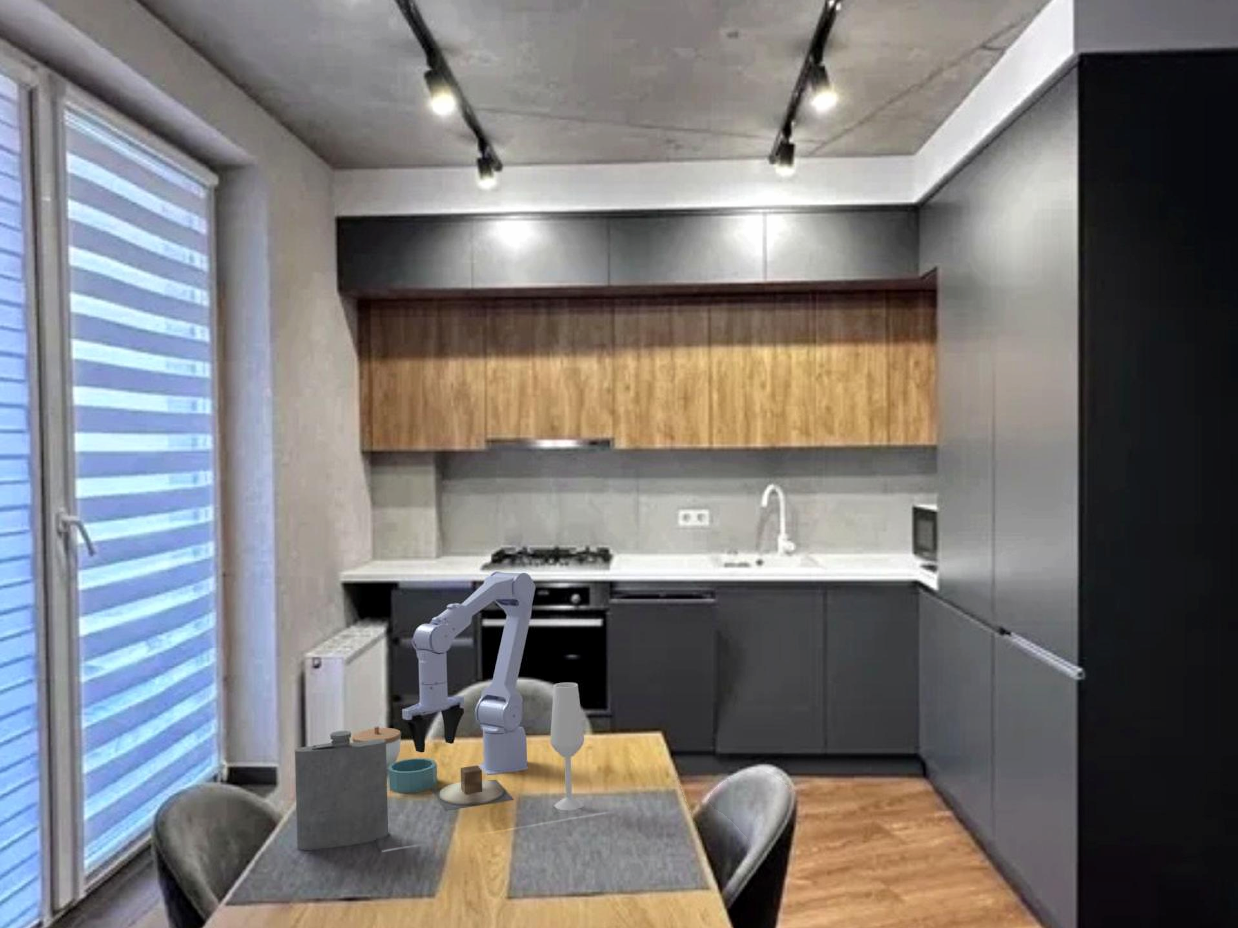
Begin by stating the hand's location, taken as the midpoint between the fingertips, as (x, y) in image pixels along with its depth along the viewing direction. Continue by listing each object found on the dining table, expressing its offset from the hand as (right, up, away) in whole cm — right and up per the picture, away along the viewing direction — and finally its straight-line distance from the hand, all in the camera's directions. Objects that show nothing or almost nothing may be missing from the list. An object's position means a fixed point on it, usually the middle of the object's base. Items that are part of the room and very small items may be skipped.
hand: (435, 746), depth 198 cm
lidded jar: (-17, -11, +19) cm, 27 cm away
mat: (+8, -9, -3) cm, 13 cm away
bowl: (-6, -10, +5) cm, 12 cm away
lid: (+8, -9, -3) cm, 12 cm away
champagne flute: (+29, -9, -11) cm, 32 cm away
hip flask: (-12, -10, -26) cm, 30 cm away
